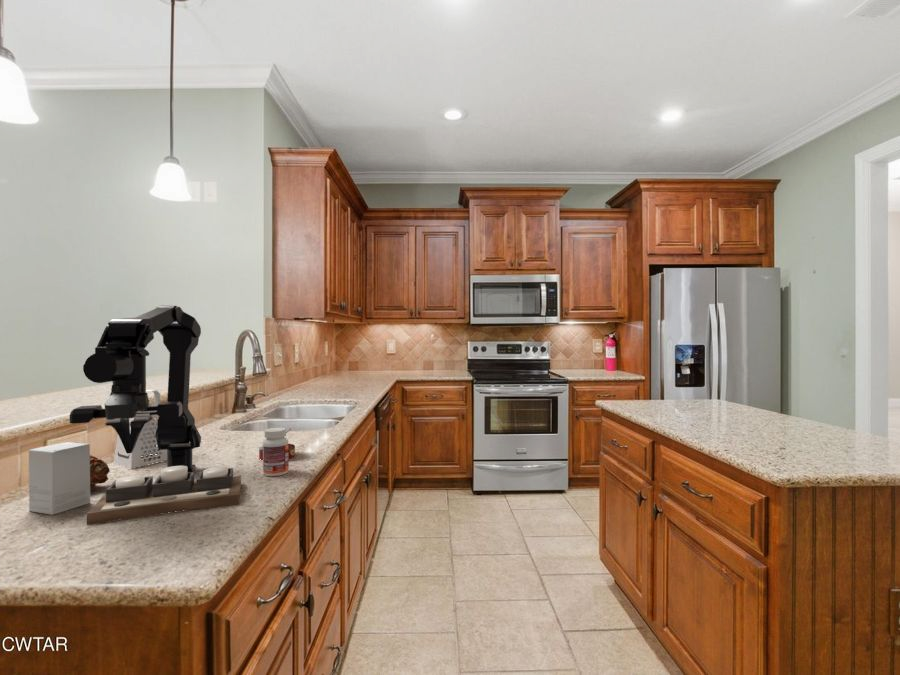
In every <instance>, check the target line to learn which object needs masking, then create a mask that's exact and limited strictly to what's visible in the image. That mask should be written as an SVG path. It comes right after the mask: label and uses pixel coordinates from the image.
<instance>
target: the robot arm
mask: <svg viewBox="0 0 900 675" xmlns="http://www.w3.org/2000/svg"><path fill="white" fill-rule="evenodd" d="M156 332H159V334H160V335H161V336H162V343H163V346H165V348H166V350H167V351H168V353H169V362H168V363H169V364H168V378H167V379H168V380H167V397H166V398H167V400H166V401H160V404H158V406H148V405H149V404H150V401H149V400H150V399H149V395H148V394H149V393H148V392H147V391H146V390H147V376H146V375H147V374H146V373H147V367H146V366H147V365H146V364H147V363H146V362H147V357H148V356H150V352H149V351H148V350H147V349H146V348H147V347H148V345H149V344H150V343H151V342H152V341H153V340H154V339H155V336H154V334H155V333H156ZM101 334H102V335H101V336H100V339H99V341H98V343H97V345H96V346H95V348H94V353H93V354H91V355H89V356H88V357H87V359H85V362H84V364H83V366H82V370H83V373H84V376H85V377H86V378H87V379H88V380H89V381H90V382H93V383H96V384H102V383H109V382H112V385H111V388H110V391H111V392H110V393H109V396H108V397H107V399H106V400H105V402H104V408H103V406H102V404H101V405H100V404H97V405H94V404H93V405H81V406H79V407H76V408H73V409H72V410H70V413H69V424H74V425H75V424H87V423H88V424H89V423H90V422H91V421H92V420H94V419H102V418H103V419H105V418H106V422H105V423H104V425H105V426H108V427H109V426H111V427H112V428H113V429H114V431H115V432H116V434H117V436H118V435H119V437H120V439H121V441H122V444H123V446H124V448H125V450H126V453H127V454H128V453H132V452H133V449H134V447H135V444H136V442H137V439H138V437H139V434H140V432H141V430H142V428H143V426H144V425H145V423H148V422H149V421H150V420H152V417H151V415H158V416H159V418H157V424H158V425H157V430H156V440H157V445H158V450H166V449H167V461H166V465H167V466H166V468H167V467H172V466H187V467H188V473H189V472H194V470H195V468H196V464H193V449H194V450H195V449H197V448H200V447H201V442H202V436H201V434H200V432H199V430H198V428H197V427H196V422H195V420H196V419H195V417H194V416H193V414H192V413H191V411H190V409H189V402H190V401H189V400H190V399H189V398H190V380H191V379H190V378H191V377H190V376H191V355H192V353H193V352H194V351H195V349H196V348H197V347H198V346H199V339H200V336H201V335H202V329H201V326H200V324H199V322H198V321H197V319H196V318H195V317H194V316H192V315H190V314H189V313H187V312H185V311H184V310H183V309H182V307H180V306H178V305H159V306H155V308H154V309H151V310H149V311H147V312H145V313H143V314H140V315H138V316H135V317H122V318H121V317H120V318H119V317H118V318H112V319H110V320H109V321H108V323H107V325H106V326H105V328H104V330H103V332H102V333H101ZM130 418H134V420H133V421H131V422H130V425H131V432H130V426H129V419H130ZM157 445H156V446H157Z"/></svg>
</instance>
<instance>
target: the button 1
mask: <svg viewBox="0 0 900 675" xmlns="http://www.w3.org/2000/svg"><path fill="white" fill-rule="evenodd" d="M145 477H146V476H144V475H138V474H137V475H128V476H123V477H121V478H118V479H116V488H122V487H131V486H140V485H144V484H145Z"/></svg>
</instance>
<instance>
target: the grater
mask: <svg viewBox="0 0 900 675" xmlns="http://www.w3.org/2000/svg"><path fill="white" fill-rule="evenodd" d="M146 392H152V393H153V403H150V402H149V405H148V406H158V404H160V403H161V392H159V391H158V390H157V389H146ZM151 417H152V420H150V421H149V422H148V423H145V425H144V426H143V428H142V430H141V432H140V434H139V437H138V439H137V442H136V444H135V447H134V449H133V452H132V453H128V454H127V453H126V450H125V448H124V446H123V444H122V441H121V439H120V437H119V435H118V434H117V438H116V443H115V444H116V445H115V452H114V456H113V457H114V458H113V464H114V465H117V466H120V465H121V466H120V467H123V466H125V467H124V468H126V467H128V468H127V469H129V468H134V467H138V468H140V467H139V466H143V465H148V464H152V463H156V462H161V461H166V460H167V449H166V450H158V445H157V440H156V430H157V425H158V424H157V420H158V418H159V416H158V415H151ZM133 420H134V418H130V419H129V426H130V432H131V425H130V422H131V421H133ZM150 454H154V455H152V456H150ZM155 454H157V455H155ZM146 455H149V456H147V457H146ZM141 456H144V457H142V458H141ZM159 456H161V457H160V458H158V457H159ZM154 458H155V459H154ZM149 459H151V460H149ZM145 460H146V461H145ZM166 462H167V461H166ZM161 463H162V462H161ZM152 465H153V464H152ZM148 466H149V465H148ZM143 467H144V466H143ZM134 469H135V468H134Z"/></svg>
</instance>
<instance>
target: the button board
mask: <svg viewBox="0 0 900 675" xmlns="http://www.w3.org/2000/svg"><path fill="white" fill-rule="evenodd" d="M227 468H228V467H227ZM203 471H204V470H200V471H199V473H198V475H197V478H196V480H195V471H193V472H189V473H188V479H187V480H185V481H176V482H167V483H161V474H160V475H158V477H157V478H156V479H155V481H153V480H154V478H153V477H154V476H144V477H145V484H144V485H140V486H131V487H122V488H116V480H117V479H116V480H114V481H113V482H112V483H111V484H110V485H109V486H108V487H107V488H106V489H105V494H104V495H103V496H102V497H100V499H99V500H98V501H96V503H95V504H94V505H93V506H92V507H91V509H89V510H88V512H87V513H86V525H90V524H91V525H92V524H97V523H99V524H100V523H106V522H112V521H113V520H115V521H120V520H119V519H122V520H129V519H128V518H130V519H135V518H134V517H137V518H143V517H142V516H145V517H150V516H149V515H152V516H157V515H156V514H160V515H162V514H161V513H167V514H169V513H168V512H175V511H182V512H184V511H183V510H190V511H194V510H193V509H197V510H203V509H202V508H205V509H210V508H209V507H212V508H218V506H220V507H225V506H233V505H239V504H240V497H241V489H242V476H241V475H236V476H234V467H229V468H228V476H222V477H213V478H204V479H203ZM175 513H176V512H175Z"/></svg>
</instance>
